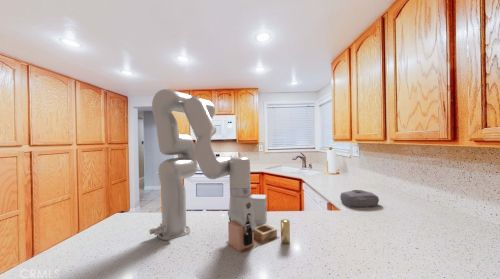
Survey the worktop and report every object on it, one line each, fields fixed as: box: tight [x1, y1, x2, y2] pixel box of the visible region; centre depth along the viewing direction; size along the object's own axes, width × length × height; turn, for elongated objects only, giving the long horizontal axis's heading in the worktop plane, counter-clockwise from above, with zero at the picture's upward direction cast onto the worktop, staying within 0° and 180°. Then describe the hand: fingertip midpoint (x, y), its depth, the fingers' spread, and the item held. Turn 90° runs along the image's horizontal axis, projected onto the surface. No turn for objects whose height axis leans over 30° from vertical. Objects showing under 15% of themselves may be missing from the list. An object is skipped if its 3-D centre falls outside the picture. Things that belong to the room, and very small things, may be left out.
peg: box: [280, 218, 291, 245], centre depth 77 cm, size 3×3×9 cm
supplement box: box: [251, 194, 268, 225], centre depth 98 cm, size 7×7×13 cm
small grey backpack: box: [339, 189, 380, 209], centre depth 123 cm, size 15×8×20 cm
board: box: [225, 223, 281, 254], centre depth 80 cm, size 18×10×7 cm, turn 127°
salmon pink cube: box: [227, 220, 254, 252], centre depth 77 cm, size 7×7×8 cm
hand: (241, 239), depth 77 cm, fingers open, 7 cm apart
